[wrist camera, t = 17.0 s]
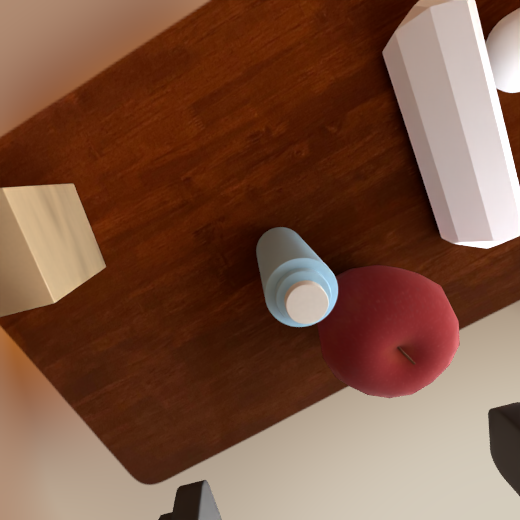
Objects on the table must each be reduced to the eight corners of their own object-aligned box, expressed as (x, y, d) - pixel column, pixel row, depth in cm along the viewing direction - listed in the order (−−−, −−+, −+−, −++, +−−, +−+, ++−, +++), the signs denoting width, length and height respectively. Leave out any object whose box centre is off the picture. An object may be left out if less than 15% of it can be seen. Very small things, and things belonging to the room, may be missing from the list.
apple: (401, 238, 36) (491, 275, 23) (408, 331, 39) (491, 410, 26) (294, 259, 36) (325, 308, 23) (310, 351, 39) (345, 440, 26)
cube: (25, 287, 35) (-58, 331, 25) (-14, 205, 32) (-122, 219, 23) (106, 267, 35) (54, 303, 25) (73, 183, 32) (2, 187, 23)
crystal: (555, 223, 32) (497, -46, 26) (526, 259, 29) (452, -36, 23) (474, 229, 38) (412, 14, 32) (443, 259, 35) (369, 28, 29)
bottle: (262, 278, 36) (277, 349, 22) (251, 233, 35) (258, 277, 20) (307, 266, 36) (353, 330, 21) (298, 221, 35) (339, 256, 20)
